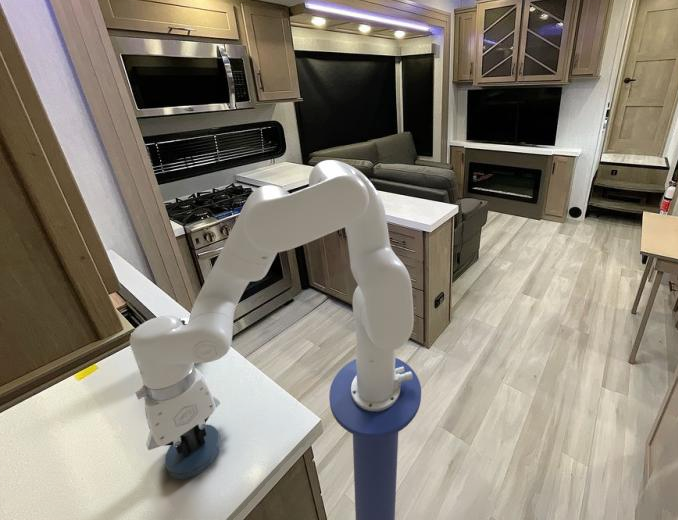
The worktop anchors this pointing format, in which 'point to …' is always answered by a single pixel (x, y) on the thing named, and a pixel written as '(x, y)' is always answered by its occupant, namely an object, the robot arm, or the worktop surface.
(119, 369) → the worktop surface
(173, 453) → the blue disc with peg
